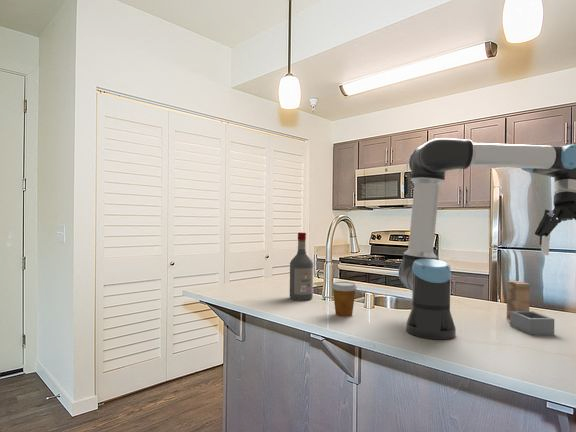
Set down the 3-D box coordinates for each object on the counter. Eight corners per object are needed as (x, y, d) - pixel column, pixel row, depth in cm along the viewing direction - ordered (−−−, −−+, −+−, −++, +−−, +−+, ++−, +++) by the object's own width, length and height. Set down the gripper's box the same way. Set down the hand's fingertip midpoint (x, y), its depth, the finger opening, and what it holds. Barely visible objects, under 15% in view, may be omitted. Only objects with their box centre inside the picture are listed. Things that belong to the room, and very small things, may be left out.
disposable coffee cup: (361, 314, 144) (361, 283, 144) (347, 319, 137) (347, 286, 137) (340, 310, 151) (341, 280, 151) (326, 314, 144) (326, 283, 144)
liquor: (314, 300, 169) (315, 233, 168) (295, 301, 165) (296, 233, 165) (305, 295, 177) (306, 232, 177) (287, 297, 173) (288, 232, 173)
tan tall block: (506, 317, 142) (507, 280, 142) (518, 317, 143) (518, 281, 143) (517, 322, 136) (517, 283, 136) (529, 322, 137) (529, 283, 137)
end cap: (509, 325, 132) (510, 311, 132) (532, 325, 133) (533, 311, 133) (529, 334, 122) (529, 319, 122) (554, 334, 123) (554, 319, 123)
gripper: (614, 189, 122) (614, 253, 116) (540, 204, 145) (536, 258, 139) (599, 182, 120) (598, 246, 114) (526, 198, 143) (522, 252, 137)
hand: (564, 253), depth 127 cm, fingers open, 13 cm apart
